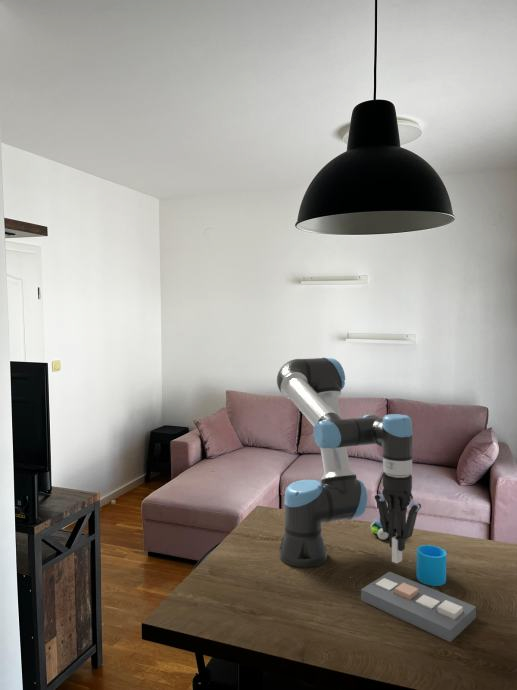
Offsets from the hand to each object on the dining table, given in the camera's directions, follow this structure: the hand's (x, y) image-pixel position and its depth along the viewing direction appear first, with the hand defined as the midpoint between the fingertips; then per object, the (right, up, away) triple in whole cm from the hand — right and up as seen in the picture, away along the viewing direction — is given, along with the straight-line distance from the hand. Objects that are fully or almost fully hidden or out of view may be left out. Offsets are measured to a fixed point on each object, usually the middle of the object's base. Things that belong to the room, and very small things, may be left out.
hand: (397, 560), depth 139 cm
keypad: (+4, -11, -3) cm, 12 cm away
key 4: (+11, -10, -10) cm, 18 cm away
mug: (+14, -10, +14) cm, 22 cm away
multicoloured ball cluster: (+7, -9, +42) cm, 43 cm away
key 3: (+6, -11, -5) cm, 14 cm away
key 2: (+2, -10, -1) cm, 10 cm away
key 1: (-2, -11, +3) cm, 11 cm away
